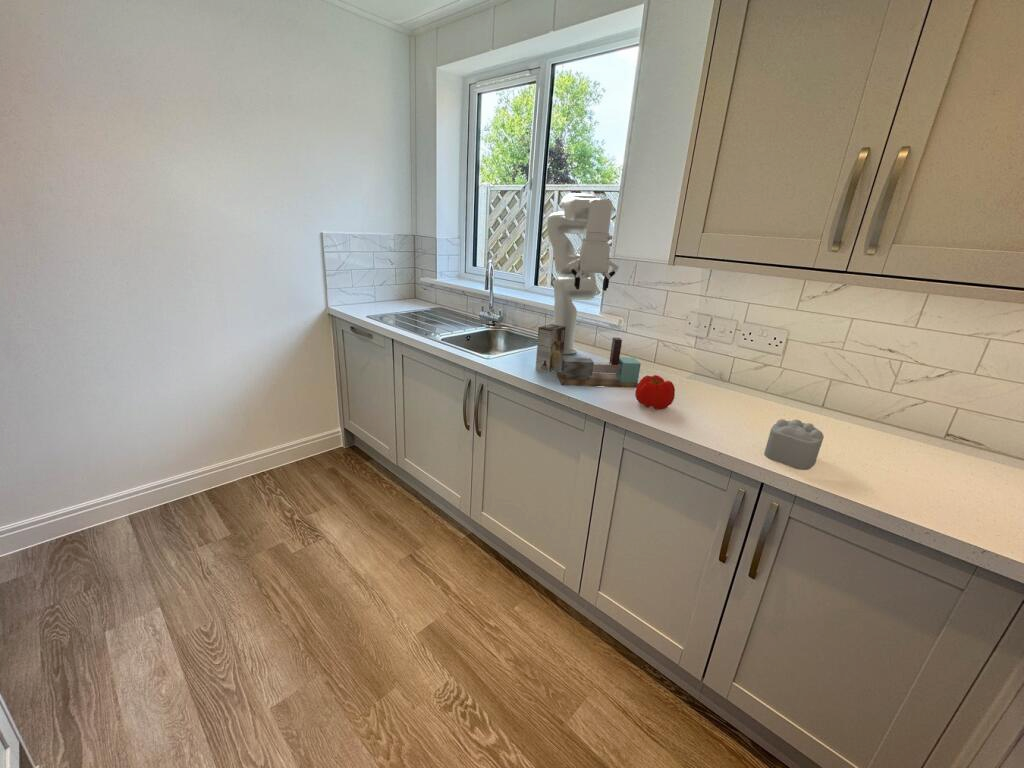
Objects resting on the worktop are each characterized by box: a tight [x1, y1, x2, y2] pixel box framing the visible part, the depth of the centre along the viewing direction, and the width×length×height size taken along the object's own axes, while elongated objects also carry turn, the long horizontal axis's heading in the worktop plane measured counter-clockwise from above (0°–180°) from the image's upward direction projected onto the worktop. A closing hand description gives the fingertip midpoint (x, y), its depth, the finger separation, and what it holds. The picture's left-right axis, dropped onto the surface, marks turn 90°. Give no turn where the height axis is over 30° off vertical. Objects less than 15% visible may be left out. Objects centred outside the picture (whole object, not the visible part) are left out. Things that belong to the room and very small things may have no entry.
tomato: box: [635, 374, 676, 411], centre depth 136 cm, size 11×12×9 cm
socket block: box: [614, 356, 641, 383], centre depth 156 cm, size 6×7×7 cm
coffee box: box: [535, 323, 566, 374], centre depth 165 cm, size 9×6×16 cm
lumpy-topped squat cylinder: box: [764, 418, 825, 471], centre depth 109 cm, size 10×13×9 cm
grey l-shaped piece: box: [593, 337, 623, 374], centre depth 154 cm, size 16×3×12 cm, turn 93°
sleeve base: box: [556, 356, 639, 389], centre depth 156 cm, size 27×12×7 cm, turn 93°
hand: (590, 289), depth 156 cm, fingers open, 9 cm apart
